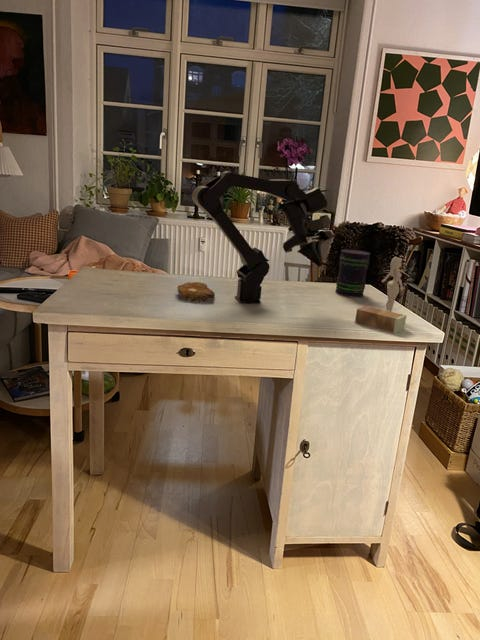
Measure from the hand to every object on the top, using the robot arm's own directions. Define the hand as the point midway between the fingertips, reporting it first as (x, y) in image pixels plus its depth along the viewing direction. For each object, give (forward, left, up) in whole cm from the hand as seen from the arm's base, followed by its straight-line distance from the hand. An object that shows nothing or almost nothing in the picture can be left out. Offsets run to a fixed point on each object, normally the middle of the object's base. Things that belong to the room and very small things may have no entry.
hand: (321, 265), depth 149 cm
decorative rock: (-34, +13, -14) cm, 39 cm away
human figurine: (+20, -8, -13) cm, 25 cm away
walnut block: (+8, -12, -11) cm, 18 cm away
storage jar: (+22, +20, -13) cm, 32 cm away
